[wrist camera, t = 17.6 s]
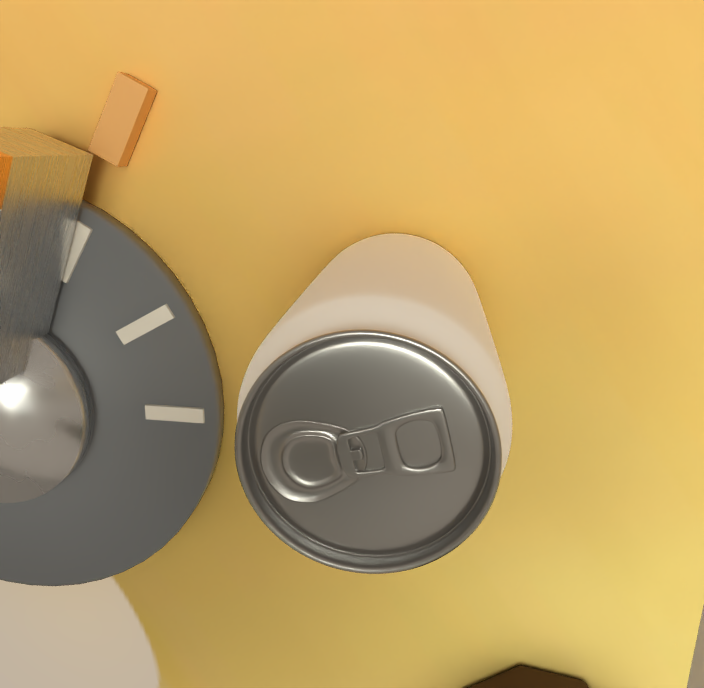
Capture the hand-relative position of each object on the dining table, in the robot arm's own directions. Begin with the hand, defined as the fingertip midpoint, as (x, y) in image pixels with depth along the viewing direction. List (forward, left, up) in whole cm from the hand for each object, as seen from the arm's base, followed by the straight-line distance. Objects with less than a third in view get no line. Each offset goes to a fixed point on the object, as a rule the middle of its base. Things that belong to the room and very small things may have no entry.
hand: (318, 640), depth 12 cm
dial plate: (-15, -2, -15) cm, 21 cm away
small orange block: (-10, +9, -15) cm, 20 cm away
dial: (-14, +1, -13) cm, 20 cm away
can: (+1, +2, -15) cm, 15 cm away
